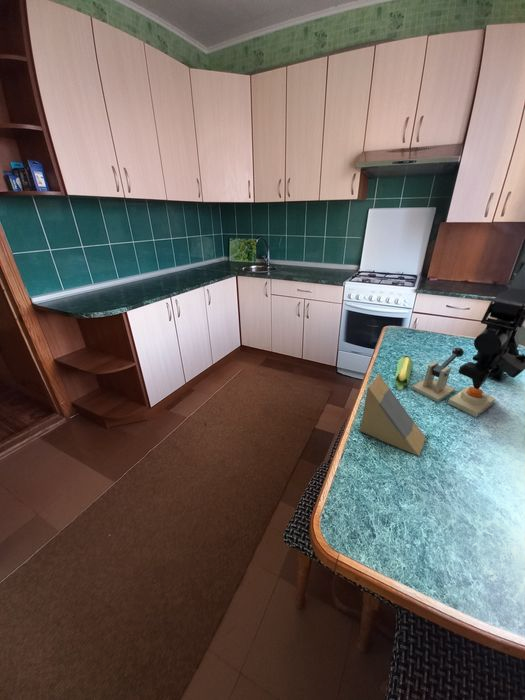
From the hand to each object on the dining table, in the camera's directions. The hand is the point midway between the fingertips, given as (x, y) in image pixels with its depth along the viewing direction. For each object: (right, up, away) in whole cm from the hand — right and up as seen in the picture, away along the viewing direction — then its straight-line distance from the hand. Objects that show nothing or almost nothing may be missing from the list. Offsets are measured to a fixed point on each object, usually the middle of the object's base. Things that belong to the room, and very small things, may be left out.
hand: (476, 388), depth 88 cm
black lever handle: (-3, +7, +8) cm, 11 cm away
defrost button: (0, -2, +1) cm, 2 cm away
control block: (0, -5, +3) cm, 6 cm away
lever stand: (-8, -2, +9) cm, 12 cm away
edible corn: (-15, +2, +17) cm, 22 cm away
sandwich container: (-30, -12, -9) cm, 33 cm away
